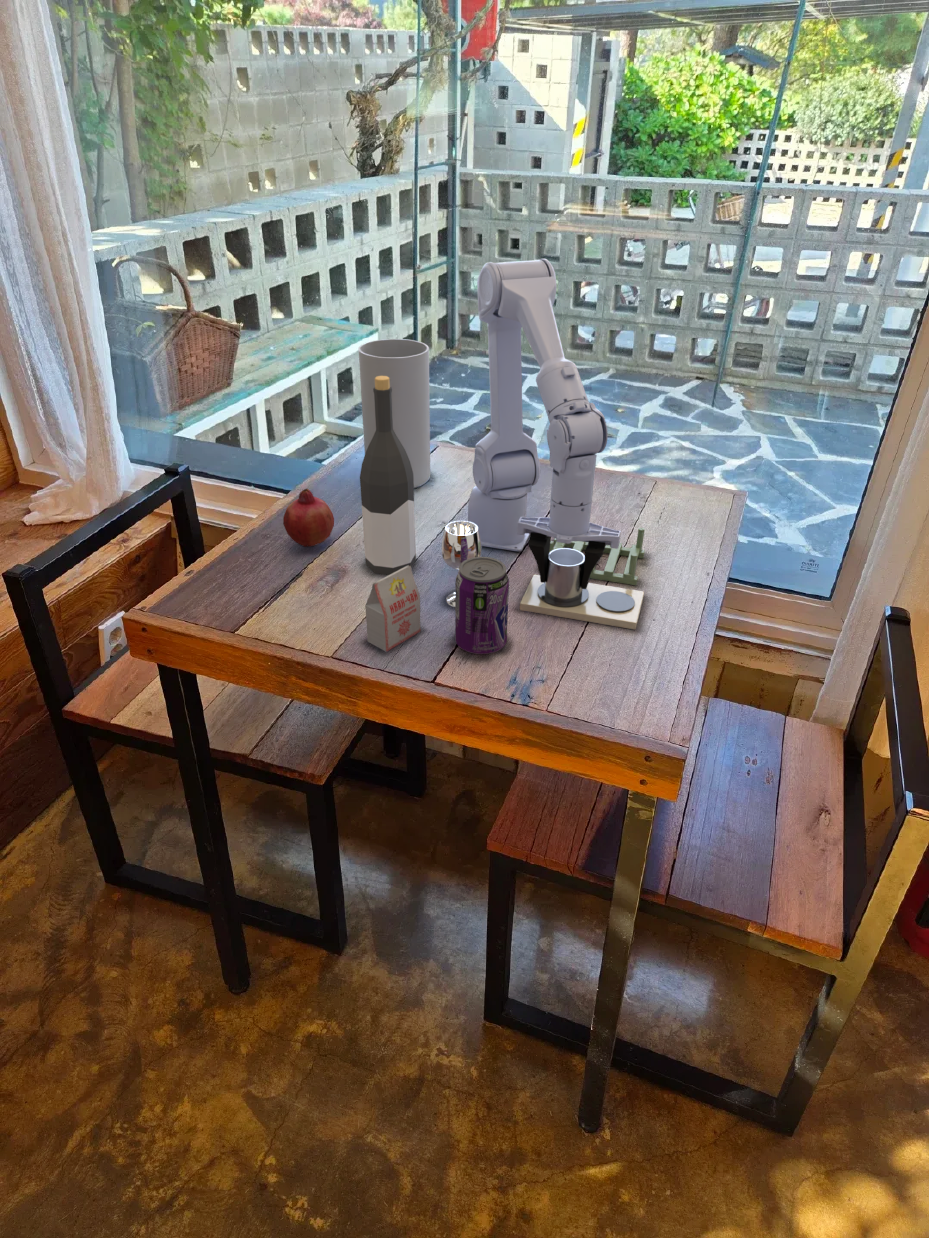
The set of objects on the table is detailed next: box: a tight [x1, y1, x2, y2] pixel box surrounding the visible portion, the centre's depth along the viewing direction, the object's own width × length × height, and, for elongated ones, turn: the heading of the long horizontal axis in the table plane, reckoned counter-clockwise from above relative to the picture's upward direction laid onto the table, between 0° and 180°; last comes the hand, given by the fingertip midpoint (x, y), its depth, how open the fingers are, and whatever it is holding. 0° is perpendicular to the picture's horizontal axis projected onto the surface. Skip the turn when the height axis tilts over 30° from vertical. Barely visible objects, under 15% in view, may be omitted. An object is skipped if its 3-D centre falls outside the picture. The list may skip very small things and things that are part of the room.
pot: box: [545, 547, 585, 602], centre depth 121 cm, size 6×6×6 cm
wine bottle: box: [359, 376, 417, 576], centre depth 124 cm, size 8×8×30 cm
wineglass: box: [441, 520, 483, 608], centre depth 120 cm, size 6×6×12 cm
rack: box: [549, 527, 646, 586], centre depth 132 cm, size 15×10×5 cm
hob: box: [519, 573, 645, 631], centre depth 122 cm, size 17×9×2 cm, turn 73°
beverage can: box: [454, 556, 510, 655], centre depth 110 cm, size 7×7×12 cm
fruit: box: [282, 488, 335, 548], centre depth 135 cm, size 8×8×10 cm
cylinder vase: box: [358, 338, 432, 489], centre depth 153 cm, size 12×12×25 cm
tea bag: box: [364, 565, 422, 652], centre depth 112 cm, size 4×7×10 cm, turn 139°
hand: (564, 582), depth 121 cm, fingers closed on pot, 5 cm apart
